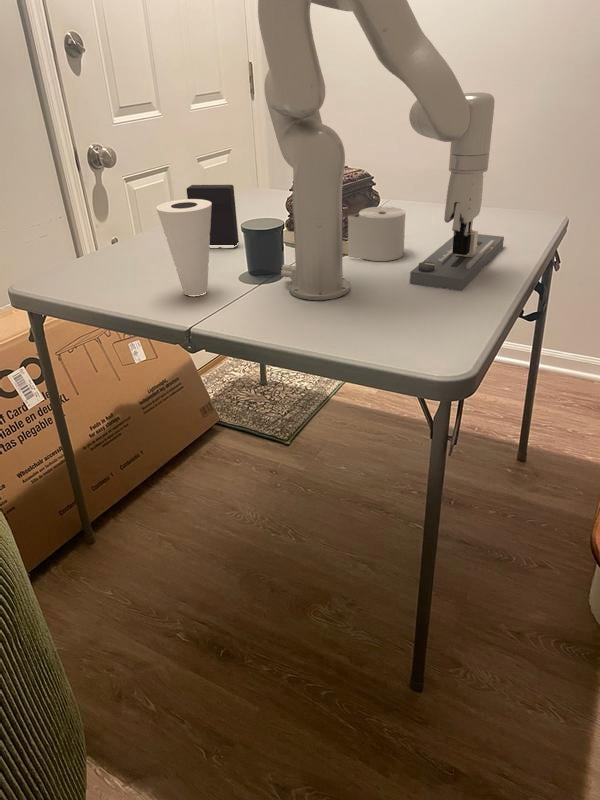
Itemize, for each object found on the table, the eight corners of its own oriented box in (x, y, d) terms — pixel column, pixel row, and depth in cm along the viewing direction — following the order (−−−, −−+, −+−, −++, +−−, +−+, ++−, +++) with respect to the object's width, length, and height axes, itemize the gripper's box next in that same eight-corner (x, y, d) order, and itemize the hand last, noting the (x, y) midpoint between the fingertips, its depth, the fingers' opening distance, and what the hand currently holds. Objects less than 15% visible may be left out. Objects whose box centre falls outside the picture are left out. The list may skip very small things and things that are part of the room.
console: (409, 283, 130) (410, 265, 128) (457, 242, 153) (459, 226, 151) (461, 290, 125) (463, 272, 123) (502, 247, 148) (504, 231, 146)
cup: (231, 291, 130) (222, 203, 121) (190, 306, 124) (177, 214, 114) (200, 280, 137) (189, 196, 127) (160, 294, 130) (145, 207, 121)
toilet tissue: (412, 253, 147) (414, 210, 142) (383, 266, 140) (384, 221, 135) (376, 245, 154) (376, 204, 149) (345, 258, 146) (345, 215, 141)
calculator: (239, 244, 159) (234, 183, 152) (235, 249, 156) (229, 187, 148) (199, 243, 161) (191, 184, 154) (193, 248, 158) (185, 187, 150)
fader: (454, 255, 136) (456, 231, 133) (457, 252, 138) (459, 228, 135) (472, 257, 134) (474, 233, 131) (475, 254, 136) (478, 230, 133)
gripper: (462, 155, 130) (454, 242, 139) (437, 168, 119) (431, 261, 128) (498, 157, 127) (488, 245, 136) (476, 170, 116) (467, 266, 125)
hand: (460, 253), depth 132 cm, fingers closed
